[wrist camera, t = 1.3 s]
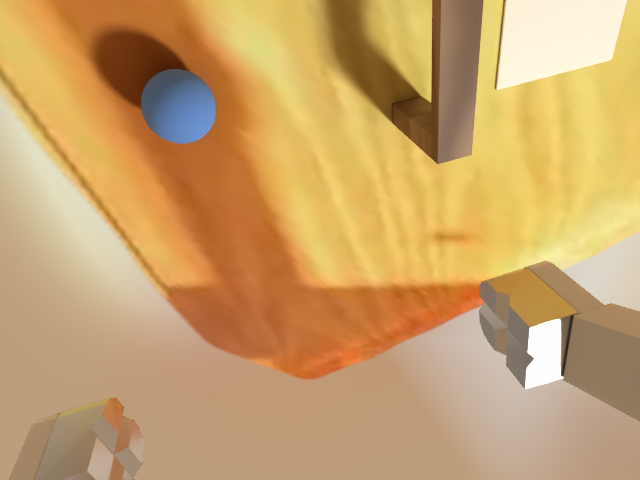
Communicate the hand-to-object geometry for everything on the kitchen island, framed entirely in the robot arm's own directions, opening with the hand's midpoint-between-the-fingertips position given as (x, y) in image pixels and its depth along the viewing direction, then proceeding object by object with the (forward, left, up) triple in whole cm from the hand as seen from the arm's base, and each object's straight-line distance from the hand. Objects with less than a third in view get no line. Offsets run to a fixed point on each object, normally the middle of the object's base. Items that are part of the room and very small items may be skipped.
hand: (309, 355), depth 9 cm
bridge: (+3, +16, -31) cm, 35 cm away
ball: (+3, -4, -28) cm, 29 cm away
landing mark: (+3, +32, -31) cm, 45 cm away
